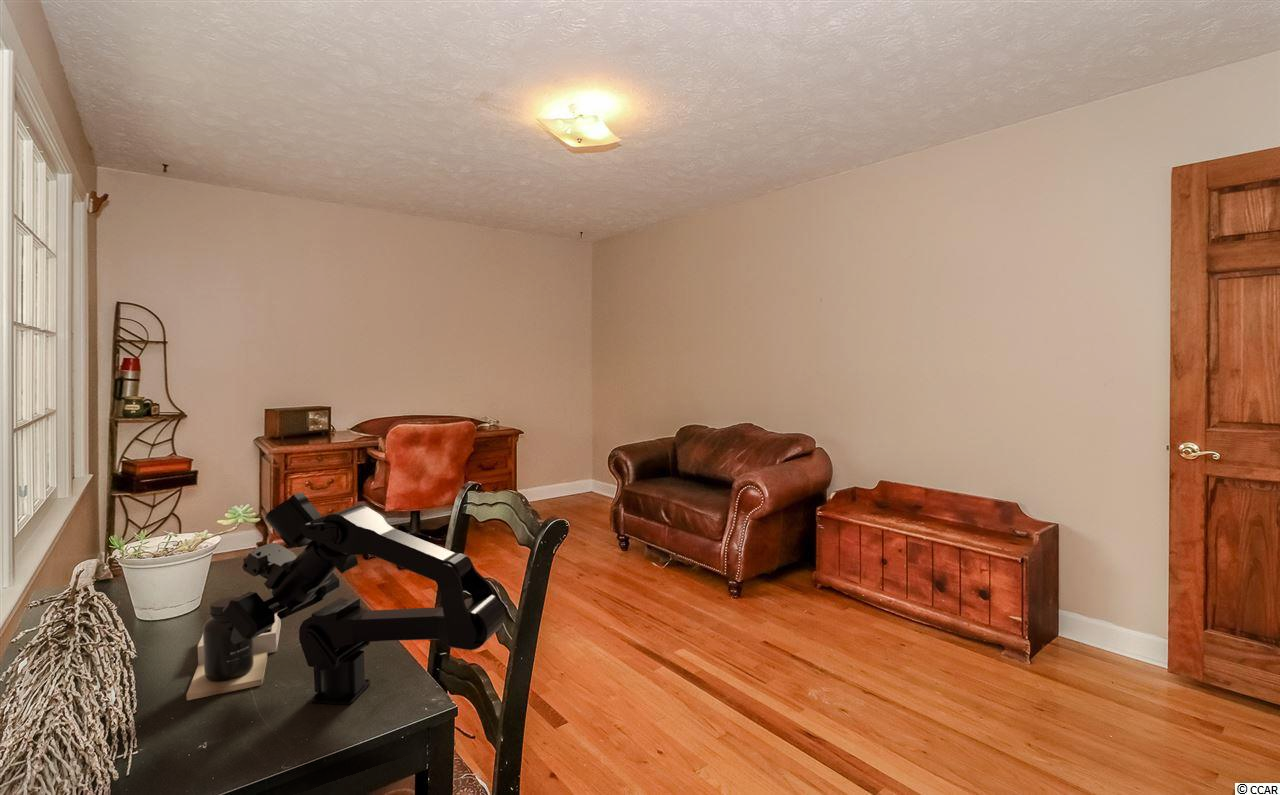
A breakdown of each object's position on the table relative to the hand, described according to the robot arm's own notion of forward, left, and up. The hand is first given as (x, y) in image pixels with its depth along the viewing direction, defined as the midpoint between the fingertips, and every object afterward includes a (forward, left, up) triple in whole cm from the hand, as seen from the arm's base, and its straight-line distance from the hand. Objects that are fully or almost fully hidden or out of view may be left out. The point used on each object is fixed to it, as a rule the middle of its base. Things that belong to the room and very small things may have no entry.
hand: (257, 628), depth 100 cm
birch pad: (+6, -1, -9) cm, 11 cm away
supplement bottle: (+6, -1, -8) cm, 10 cm away
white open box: (+12, -12, -9) cm, 19 cm away
